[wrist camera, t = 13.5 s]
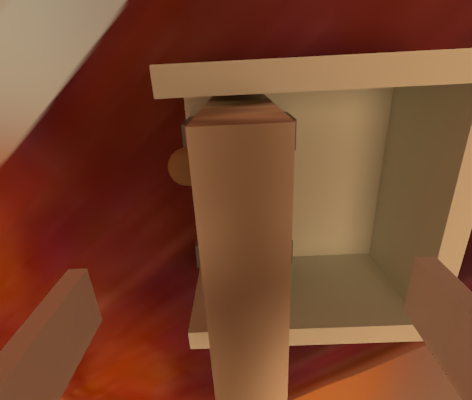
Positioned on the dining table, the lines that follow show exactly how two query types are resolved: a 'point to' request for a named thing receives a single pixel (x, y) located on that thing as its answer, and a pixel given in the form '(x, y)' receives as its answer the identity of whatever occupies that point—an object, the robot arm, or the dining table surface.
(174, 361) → the dining table surface
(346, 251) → the cabinet
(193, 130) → the door
